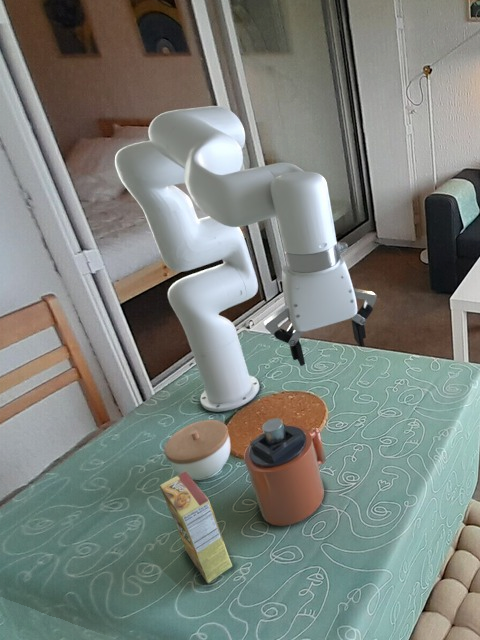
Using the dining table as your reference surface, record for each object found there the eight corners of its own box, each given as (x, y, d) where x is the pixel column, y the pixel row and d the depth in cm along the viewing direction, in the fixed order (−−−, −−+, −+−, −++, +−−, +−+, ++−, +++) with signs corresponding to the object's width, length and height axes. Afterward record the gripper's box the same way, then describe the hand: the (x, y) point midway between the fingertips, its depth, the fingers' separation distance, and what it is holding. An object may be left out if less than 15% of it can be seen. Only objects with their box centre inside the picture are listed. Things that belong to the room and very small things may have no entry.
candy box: (185, 551, 83) (156, 486, 76) (211, 534, 86) (186, 469, 79) (208, 585, 78) (179, 518, 71) (235, 565, 81) (210, 499, 74)
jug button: (262, 440, 85) (258, 427, 84) (278, 429, 87) (274, 415, 86) (274, 447, 84) (270, 434, 82) (290, 435, 86) (286, 422, 85)
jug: (248, 508, 91) (227, 446, 84) (308, 459, 101) (294, 400, 94) (287, 536, 85) (268, 473, 79) (347, 481, 96) (335, 421, 89)
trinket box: (169, 495, 93) (153, 458, 89) (184, 454, 103) (170, 418, 98) (231, 482, 96) (218, 446, 92) (241, 443, 105) (230, 408, 101)
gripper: (360, 237, 82) (373, 326, 89) (246, 261, 73) (271, 357, 81) (376, 252, 76) (389, 346, 83) (254, 280, 68) (280, 381, 75)
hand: (331, 351), depth 82 cm, fingers open, 9 cm apart
